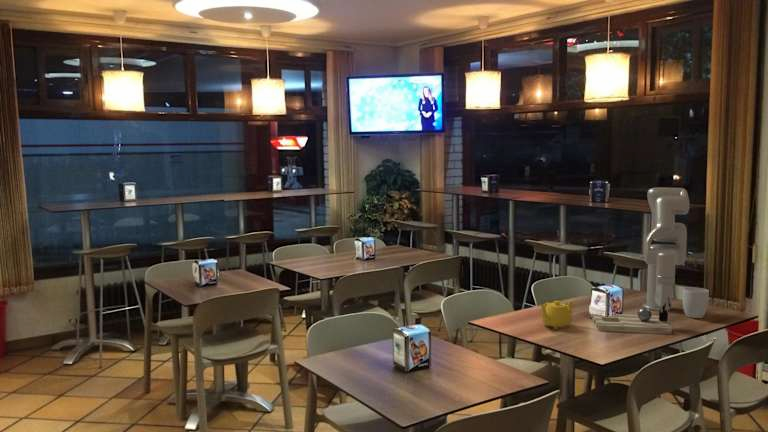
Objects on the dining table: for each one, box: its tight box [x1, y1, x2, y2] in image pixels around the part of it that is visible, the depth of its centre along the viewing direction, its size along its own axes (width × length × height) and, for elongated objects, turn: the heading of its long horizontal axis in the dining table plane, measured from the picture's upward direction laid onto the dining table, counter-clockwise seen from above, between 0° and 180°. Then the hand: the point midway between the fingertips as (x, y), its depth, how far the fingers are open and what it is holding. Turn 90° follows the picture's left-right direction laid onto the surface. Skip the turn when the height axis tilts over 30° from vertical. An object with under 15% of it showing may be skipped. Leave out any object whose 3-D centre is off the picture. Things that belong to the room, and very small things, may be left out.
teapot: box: [540, 298, 574, 330], centre depth 291 cm, size 20×15×12 cm
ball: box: [636, 307, 653, 321], centre depth 290 cm, size 6×6×6 cm
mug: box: [682, 286, 710, 319], centre depth 307 cm, size 15×11×13 cm
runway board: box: [590, 312, 673, 335], centre depth 292 cm, size 20×30×2 cm, turn 81°
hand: (663, 320), depth 289 cm, fingers closed
